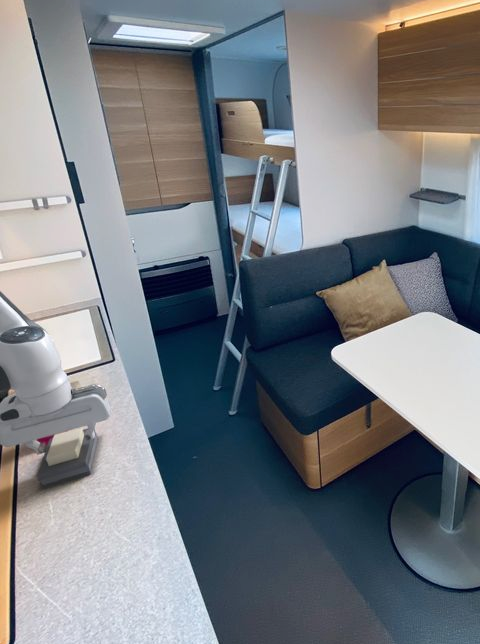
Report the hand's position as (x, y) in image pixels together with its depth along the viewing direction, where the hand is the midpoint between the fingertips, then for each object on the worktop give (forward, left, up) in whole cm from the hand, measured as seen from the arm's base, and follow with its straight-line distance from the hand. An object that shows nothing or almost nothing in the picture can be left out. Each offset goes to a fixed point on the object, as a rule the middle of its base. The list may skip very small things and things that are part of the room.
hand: (67, 444), depth 94 cm
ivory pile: (-5, +25, -6) cm, 26 cm away
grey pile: (0, 0, -6) cm, 6 cm away
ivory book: (0, 0, -1) cm, 1 cm away
